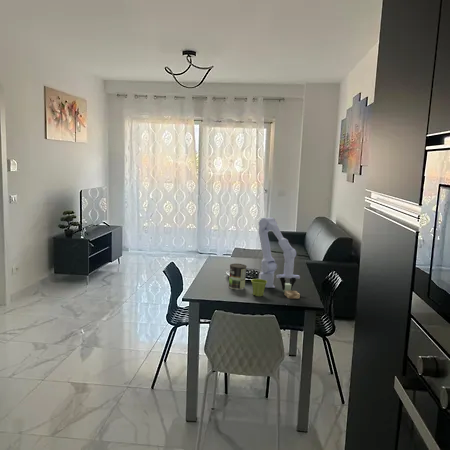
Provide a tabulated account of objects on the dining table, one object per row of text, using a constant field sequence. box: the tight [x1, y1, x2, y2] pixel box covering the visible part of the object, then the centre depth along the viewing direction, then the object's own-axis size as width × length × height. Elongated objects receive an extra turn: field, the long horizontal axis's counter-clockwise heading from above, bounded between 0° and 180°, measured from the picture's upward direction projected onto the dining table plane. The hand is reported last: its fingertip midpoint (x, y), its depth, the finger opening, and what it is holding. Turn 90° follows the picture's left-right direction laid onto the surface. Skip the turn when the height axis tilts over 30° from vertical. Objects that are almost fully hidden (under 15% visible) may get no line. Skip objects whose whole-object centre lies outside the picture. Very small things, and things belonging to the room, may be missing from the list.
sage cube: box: [282, 282, 292, 294], centre depth 265 cm, size 4×4×5 cm
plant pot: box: [250, 278, 267, 297], centre depth 254 cm, size 9×9×9 cm
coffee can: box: [228, 263, 247, 291], centre depth 267 cm, size 10×10×14 cm
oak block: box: [283, 290, 301, 299], centre depth 256 cm, size 7×7×3 cm
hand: (286, 289), depth 265 cm, fingers closed on sage cube, 4 cm apart
